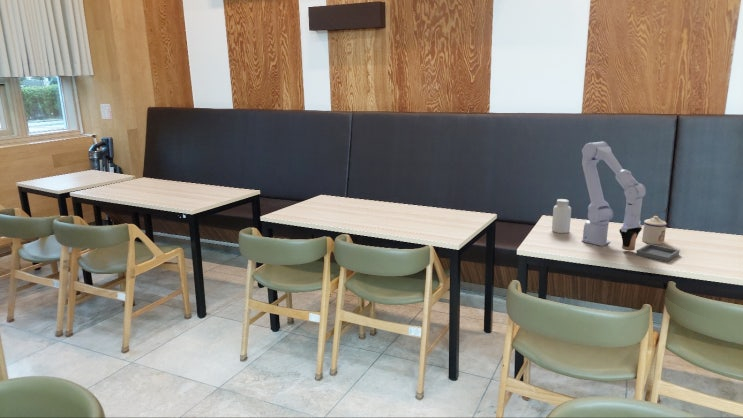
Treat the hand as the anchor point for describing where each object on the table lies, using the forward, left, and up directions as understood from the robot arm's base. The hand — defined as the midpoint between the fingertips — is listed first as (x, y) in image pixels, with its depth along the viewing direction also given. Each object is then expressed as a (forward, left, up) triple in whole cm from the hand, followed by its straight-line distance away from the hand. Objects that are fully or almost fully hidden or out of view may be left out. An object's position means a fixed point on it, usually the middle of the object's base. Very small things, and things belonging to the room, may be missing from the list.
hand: (628, 245), depth 228 cm
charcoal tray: (+10, +4, -3) cm, 11 cm away
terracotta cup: (0, 0, -2) cm, 2 cm away
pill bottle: (-34, +7, -3) cm, 35 cm away
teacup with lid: (+2, +23, -3) cm, 23 cm away
